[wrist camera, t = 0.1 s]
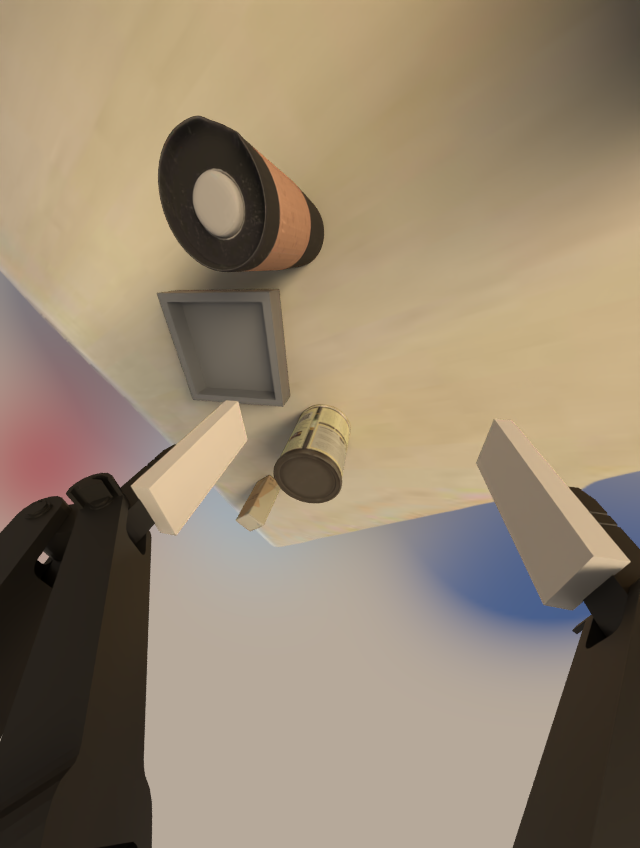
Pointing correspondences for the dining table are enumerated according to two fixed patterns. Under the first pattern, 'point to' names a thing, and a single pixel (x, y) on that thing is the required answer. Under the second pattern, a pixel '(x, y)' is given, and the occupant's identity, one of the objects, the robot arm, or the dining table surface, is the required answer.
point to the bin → (230, 344)
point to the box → (259, 504)
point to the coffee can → (314, 456)
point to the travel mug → (233, 202)
